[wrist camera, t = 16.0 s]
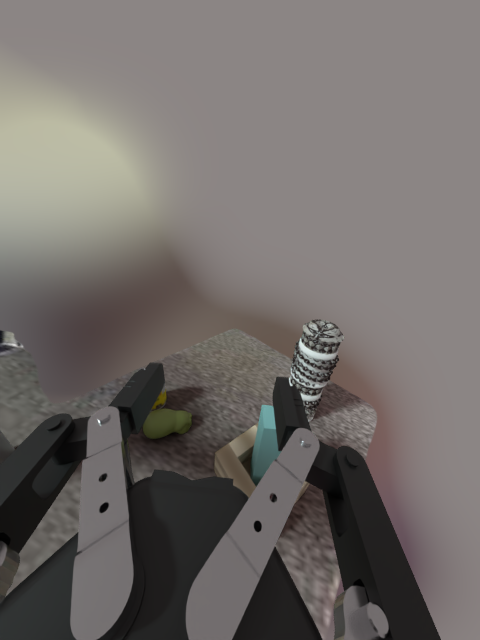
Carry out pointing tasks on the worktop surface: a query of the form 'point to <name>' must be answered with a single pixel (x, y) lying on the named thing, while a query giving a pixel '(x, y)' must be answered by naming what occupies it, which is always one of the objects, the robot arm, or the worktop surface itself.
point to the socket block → (241, 462)
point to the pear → (166, 423)
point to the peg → (264, 445)
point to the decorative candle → (315, 361)
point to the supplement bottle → (160, 400)
